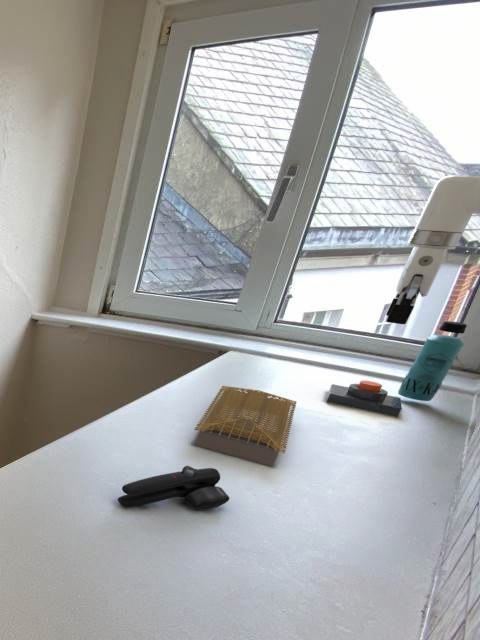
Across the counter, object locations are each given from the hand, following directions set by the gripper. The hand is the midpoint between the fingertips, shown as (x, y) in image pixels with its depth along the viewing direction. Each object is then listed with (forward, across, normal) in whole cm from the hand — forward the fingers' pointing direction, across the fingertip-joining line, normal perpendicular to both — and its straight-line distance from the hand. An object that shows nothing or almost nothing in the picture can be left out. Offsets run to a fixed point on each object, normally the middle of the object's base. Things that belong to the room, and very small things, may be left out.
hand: (395, 319), depth 125 cm
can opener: (+20, -87, +21) cm, 92 cm away
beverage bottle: (+21, +12, -11) cm, 26 cm away
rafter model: (+20, -42, +17) cm, 50 cm away
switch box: (+20, 0, -1) cm, 20 cm away
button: (+17, 0, -1) cm, 17 cm away
